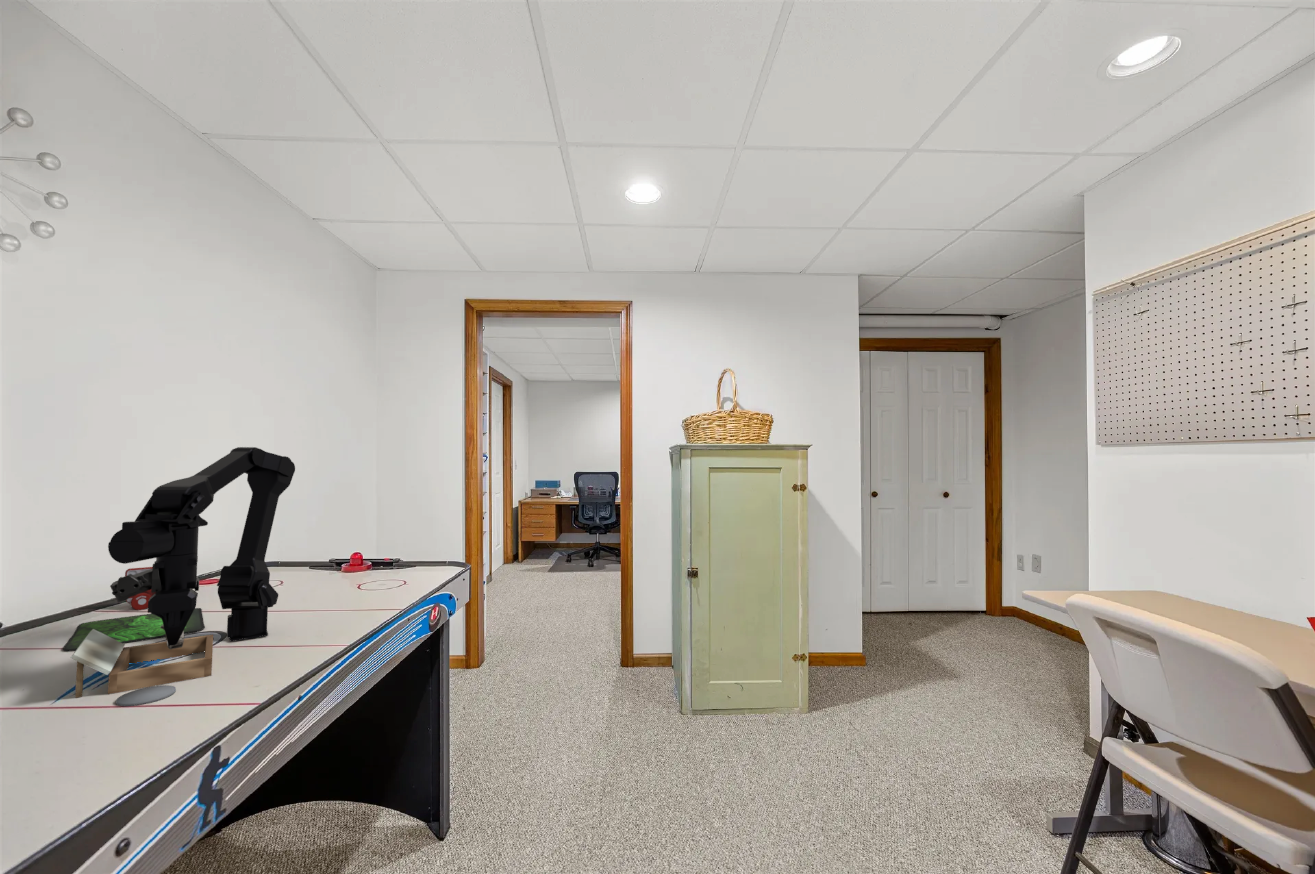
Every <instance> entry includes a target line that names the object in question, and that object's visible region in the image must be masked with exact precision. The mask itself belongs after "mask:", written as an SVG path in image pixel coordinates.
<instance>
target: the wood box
mask: <svg viewBox="0 0 1315 874" xmlns="http://www.w3.org/2000/svg"><path fill="white" fill-rule="evenodd" d="M125 646H126V643H121V642H119V641H117V640H115V639H113V638H111V637H109V636H107V635H105V634H103V633H101V632H98V631H96V630H94V629H93V630H92V631H91V632H90V633H89V634H88V635H87V637H86V638H85V639H84V641H83V642H82V643H81V644H80V646H79V647H78V648H77V650H76V651H73V654H72V655H71V656H70V659H71V660H73V661H76V672H75V673H76V675H75V696H74V697H75V699H77V698H82V697H83V689H84V675H85V674H84V670H85V668H84V667H85V666H87V667H89V668H91V669H93V670H95V671H97V672H100V673H102V674H104V675H106V676H108V684H107V685H108V687H107V695H110V694H111V695H112V694H117V693H123V692H127V691H128V692H130V691H135V690H138V689H142V688H144V687H145V688H147V687H152V686H155V685H156V686H161V685H168V684H172V683H178V682H182V681H189V680H194V679H199V678H205V677H211V676H212V674H213V673H212V670H213V669H212V668H213V652H214V651H213V650H214V649H213V647H214V634H207V635H200V636H194V637H193V636H192V637H186V638H185V637H184V642H183V646H182V647H180V648H175V649H169V648H168V646H167V642H166V640H165V641H160V642H153V643H146V644H140V645H139V644H138V645H131V646H126V647H125ZM204 651H205V652H204ZM200 652H204V657H201V658H195V659H189V660H182V661H176V662H170V663H165V664H164V663H163V664H160V665H159V664H158V665H151V666H147V667H140V668H134V669H129V666H130V664H129V663H135V664H138V663H137V662H141V663H144V662H143V661H148V662H152V661H153V660H154V661H158V660H157V659H160V660H165V659H171V658H170V657H172V658H177V657H183V656H182V655H185V656H189V655H188V654H191V655H193V654H192V653H197V654H201V653H200ZM151 660H152V661H151ZM127 668H128V669H129V670H128V669H127Z"/></svg>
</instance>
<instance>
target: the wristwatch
mask: <svg viewBox="0 0 1315 874" xmlns="http://www.w3.org/2000/svg"><path fill="white" fill-rule="evenodd" d="M160 628H162V629H164V625H162V626H160ZM164 631H165V629H164ZM165 634H166V633H165ZM165 639H166V640H165V641H166V642H167V646H168V648H169V649H175V648H180V647H182V646H183V642H184V639H185V634H184V631H183V633H182V635H181V637H180V639H179V641H178V643H177V644H176V645H171V646H169V645H168V641H167V637H165Z"/></svg>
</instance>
